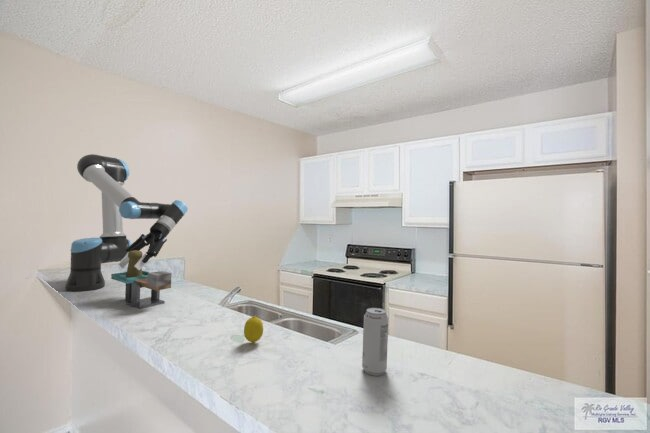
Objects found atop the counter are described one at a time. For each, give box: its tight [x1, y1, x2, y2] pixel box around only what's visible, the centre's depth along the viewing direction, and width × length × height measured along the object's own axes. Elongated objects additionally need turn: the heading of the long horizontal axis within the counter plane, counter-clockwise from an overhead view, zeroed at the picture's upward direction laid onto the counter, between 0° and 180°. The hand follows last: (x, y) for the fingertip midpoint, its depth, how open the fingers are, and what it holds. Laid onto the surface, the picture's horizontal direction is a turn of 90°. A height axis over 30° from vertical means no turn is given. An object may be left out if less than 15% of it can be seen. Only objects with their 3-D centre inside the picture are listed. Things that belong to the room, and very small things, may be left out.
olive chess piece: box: [126, 250, 143, 278], centre depth 134 cm, size 6×6×11 cm
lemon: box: [243, 315, 264, 344], centre depth 94 cm, size 6×6×8 cm
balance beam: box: [110, 270, 172, 291], centre depth 130 cm, size 12×27×7 cm, turn 59°
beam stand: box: [124, 283, 166, 310], centre depth 131 cm, size 10×16×9 cm, turn 59°
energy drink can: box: [361, 307, 389, 377], centre depth 79 cm, size 6×6×15 cm
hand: (128, 267), depth 131 cm, fingers open, 9 cm apart
